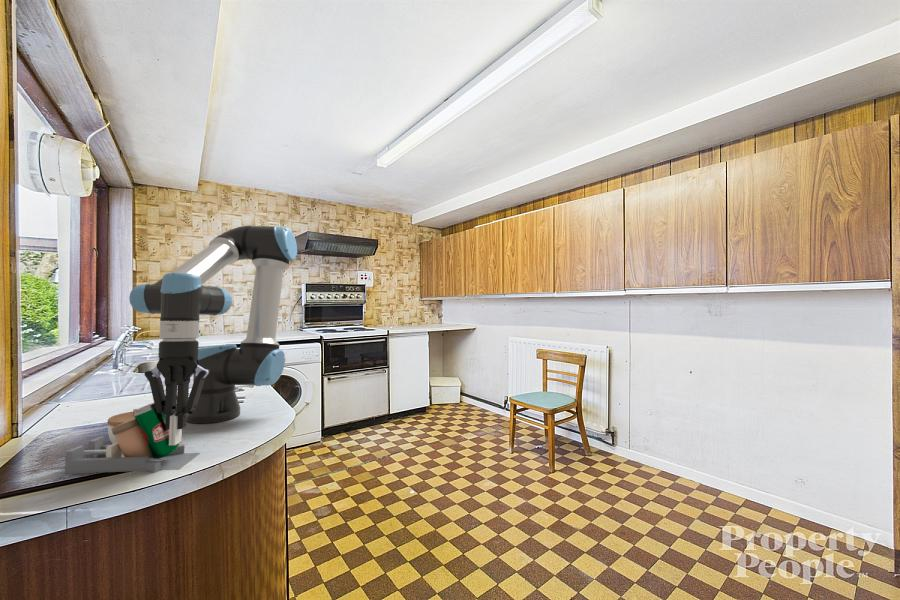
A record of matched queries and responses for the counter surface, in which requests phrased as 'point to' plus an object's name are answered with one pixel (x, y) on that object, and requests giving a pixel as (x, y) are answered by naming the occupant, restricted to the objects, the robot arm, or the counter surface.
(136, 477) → the counter surface
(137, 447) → the jar
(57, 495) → the counter surface
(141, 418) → the soda can
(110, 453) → the pusher
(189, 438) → the counter surface
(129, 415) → the lidded jar
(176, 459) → the grey divided tray
